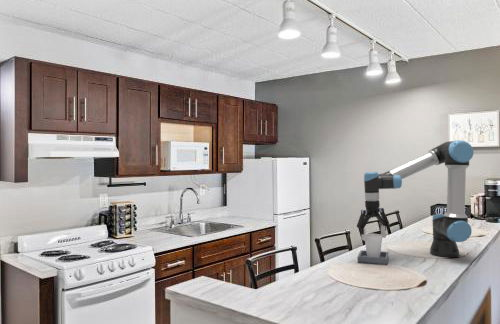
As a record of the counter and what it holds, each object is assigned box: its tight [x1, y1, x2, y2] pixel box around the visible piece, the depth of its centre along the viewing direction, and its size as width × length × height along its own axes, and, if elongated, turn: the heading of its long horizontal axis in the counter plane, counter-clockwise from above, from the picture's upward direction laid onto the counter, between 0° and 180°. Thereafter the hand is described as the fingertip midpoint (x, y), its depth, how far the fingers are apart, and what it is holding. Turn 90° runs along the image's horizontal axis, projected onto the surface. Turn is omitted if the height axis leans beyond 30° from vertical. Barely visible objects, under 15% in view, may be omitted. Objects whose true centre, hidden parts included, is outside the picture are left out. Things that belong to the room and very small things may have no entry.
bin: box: [357, 250, 390, 266], centre depth 212 cm, size 15×15×4 cm
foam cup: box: [364, 233, 383, 258], centre depth 212 cm, size 10×9×13 cm
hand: (373, 238), depth 211 cm, fingers open, 13 cm apart
